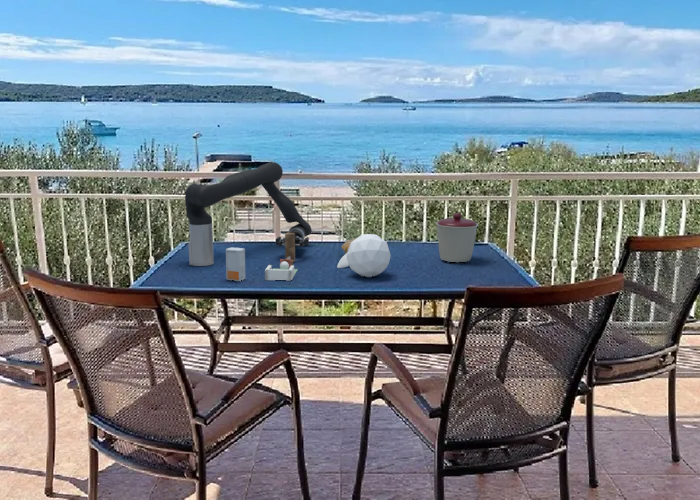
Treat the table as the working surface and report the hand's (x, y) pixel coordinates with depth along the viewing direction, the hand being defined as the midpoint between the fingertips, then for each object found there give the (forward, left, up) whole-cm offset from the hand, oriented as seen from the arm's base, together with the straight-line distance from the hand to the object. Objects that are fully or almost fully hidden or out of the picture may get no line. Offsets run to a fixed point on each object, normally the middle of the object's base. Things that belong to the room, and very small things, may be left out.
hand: (290, 244), depth 254 cm
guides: (0, -11, -8) cm, 13 cm away
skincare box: (-16, -32, -8) cm, 36 cm away
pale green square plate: (0, -19, -8) cm, 20 cm away
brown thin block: (0, -6, -7) cm, 10 cm away
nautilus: (+31, +14, -8) cm, 35 cm away
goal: (0, -28, -8) cm, 29 cm away
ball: (0, -17, -5) cm, 18 cm away
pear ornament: (+32, -17, -8) cm, 37 cm away
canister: (+71, +7, -8) cm, 72 cm away
